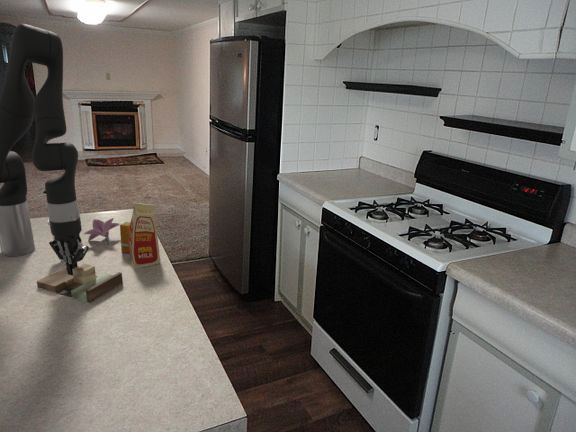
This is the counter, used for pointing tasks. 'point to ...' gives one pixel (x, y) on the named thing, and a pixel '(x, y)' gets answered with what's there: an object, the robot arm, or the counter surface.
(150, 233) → the milk carton
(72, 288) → the trap track
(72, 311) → the counter surface
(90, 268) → the maple block
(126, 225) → the supplement box
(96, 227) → the lily
